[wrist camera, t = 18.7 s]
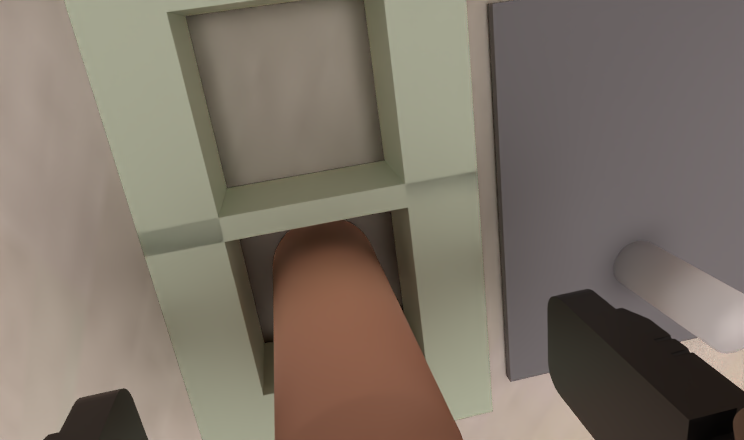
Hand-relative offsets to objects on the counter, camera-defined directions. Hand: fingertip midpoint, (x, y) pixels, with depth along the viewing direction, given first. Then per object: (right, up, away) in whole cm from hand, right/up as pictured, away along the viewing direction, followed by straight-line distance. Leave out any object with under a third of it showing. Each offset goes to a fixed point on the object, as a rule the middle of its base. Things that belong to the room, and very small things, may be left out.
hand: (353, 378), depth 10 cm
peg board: (-1, +4, +5) cm, 6 cm away
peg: (-1, +2, +6) cm, 6 cm away
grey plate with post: (+9, +4, +7) cm, 12 cm away
